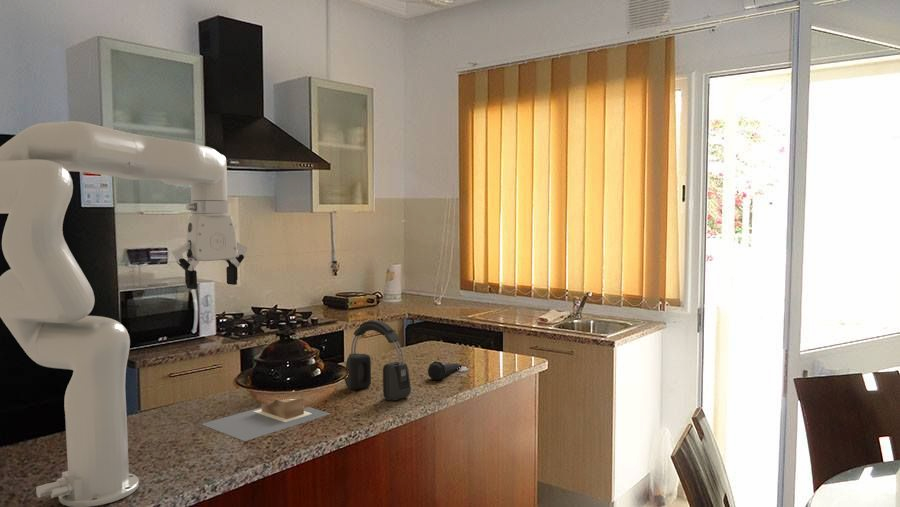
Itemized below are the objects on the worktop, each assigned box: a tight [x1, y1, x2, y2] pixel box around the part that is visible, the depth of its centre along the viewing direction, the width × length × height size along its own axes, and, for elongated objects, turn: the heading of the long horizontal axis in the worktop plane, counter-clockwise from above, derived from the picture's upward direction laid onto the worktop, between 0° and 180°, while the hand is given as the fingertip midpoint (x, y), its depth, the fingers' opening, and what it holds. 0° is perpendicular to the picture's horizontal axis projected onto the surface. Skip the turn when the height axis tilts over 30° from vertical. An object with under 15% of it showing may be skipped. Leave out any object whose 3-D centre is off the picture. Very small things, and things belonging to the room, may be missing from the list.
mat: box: [200, 406, 332, 442], centre depth 154 cm, size 24×18×1 cm
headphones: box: [344, 319, 412, 401], centre depth 177 cm, size 22×6×20 cm, turn 47°
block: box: [261, 397, 305, 419], centre depth 159 cm, size 10×5×4 cm, turn 51°
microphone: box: [427, 361, 463, 381], centre depth 198 cm, size 6×6×20 cm
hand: (212, 286), depth 144 cm, fingers open, 9 cm apart
